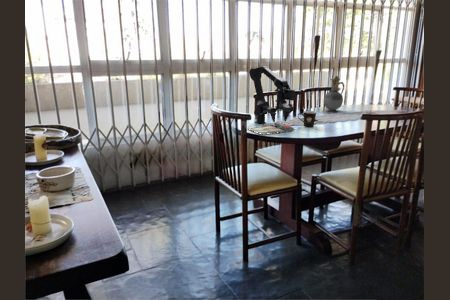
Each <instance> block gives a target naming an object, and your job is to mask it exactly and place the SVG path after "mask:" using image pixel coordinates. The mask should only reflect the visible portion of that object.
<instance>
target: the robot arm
mask: <svg viewBox="0 0 450 300" xmlns="http://www.w3.org/2000/svg"><path fill="white" fill-rule="evenodd" d="M262 74H263V75H264V76H266V77H267V78H268V79H269V80H271V81H272V82H273V84H274V86H275V89H274V92H276V99H275V102H276V104H275V106H274V107H273V106H272V107H270V104H269V103H270V102H269V101H267V100H266V99H265V95H264V89H263V86H262V81H261V79H262ZM248 75H249V77H250V79H251V80H252V81H253V85H254V89H255V93H256V99H257V102H256V103H257V104H256V109H255V110H254V111H253V113H254V115H255V116H256V121H254V123H255V124H258V125H261V124H267V122H266V115H268V114H269V115H270V117H271V120H272V123H276V115H277V112H280V111H282V112H283V120H284V122H287V120H288V118H289V116H290V114H291V113H292V112H294V110H295V107H294V106H293V103H288V102H287V101H292V102H294V101H295V100H296V98H297V93H296V92H295V91H296V90H295V89H291V87H290V85H289V82H288V80H287V79H285V78H283V77H280V76H279V75H277V74H276V73H275V72H273V71H272V70H271V69H270V68H269V66H266V65H263V66H259V67H251V68H249V71H248Z"/></svg>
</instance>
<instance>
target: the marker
mask: <svg viewBox="0 0 450 300" xmlns="http://www.w3.org/2000/svg"><path fill="white" fill-rule="evenodd" d="M273 123H274V122H273ZM274 125H275V126H277V127H276V128H278V127H283V125H284V124H283V123H281V122H275V123H274ZM274 125H273V126H274ZM275 126H274V127H275Z"/></svg>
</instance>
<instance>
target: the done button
mask: <svg viewBox="0 0 450 300" xmlns="http://www.w3.org/2000/svg"><path fill="white" fill-rule="evenodd" d="M283 128H285V129H289V128H291V125H290V124H283Z"/></svg>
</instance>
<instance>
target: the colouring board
mask: <svg viewBox="0 0 450 300" xmlns="http://www.w3.org/2000/svg"><path fill="white" fill-rule="evenodd" d="M248 129H250V130H252V131H255V132H258V133H261V134H267V133H275V134H278V133H277V132H283V133H285V132H284V130H281V129H280V128H278V127H275V126H274V125H273V126H272V125H266V126H265V125H263V126H256V127H248V128H247V130H248ZM252 131H251V132H252Z"/></svg>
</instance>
